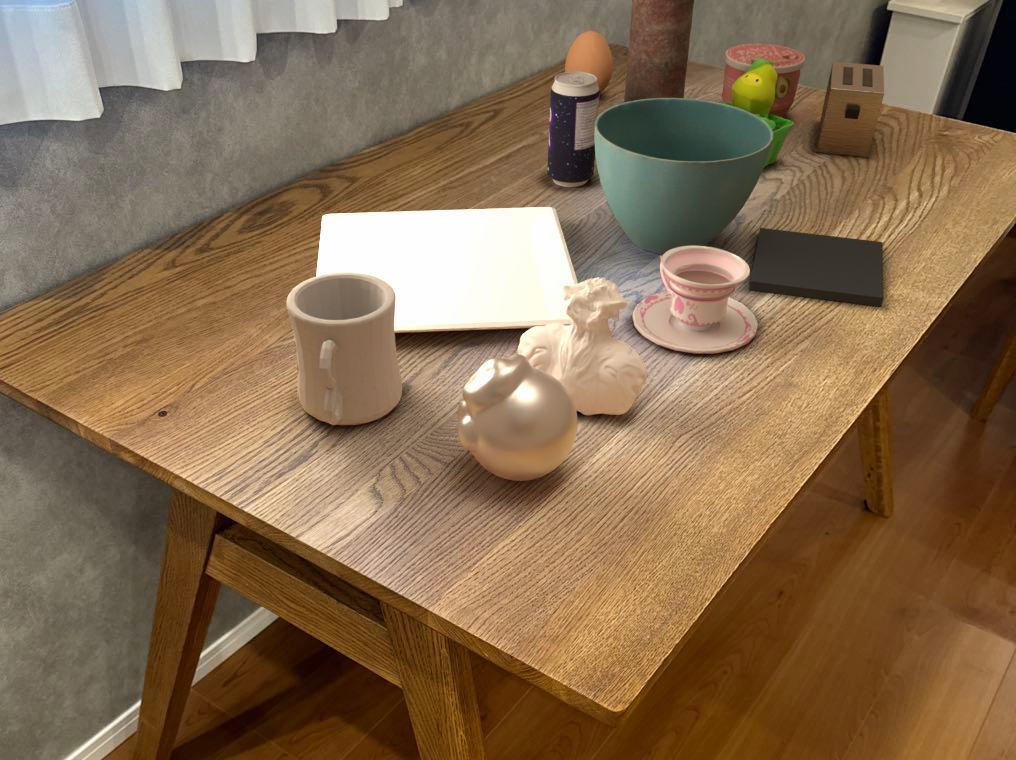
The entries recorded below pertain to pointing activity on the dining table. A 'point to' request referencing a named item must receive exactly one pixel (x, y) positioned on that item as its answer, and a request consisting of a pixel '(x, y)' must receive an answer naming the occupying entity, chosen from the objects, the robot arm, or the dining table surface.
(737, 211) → the plant pot
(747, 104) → the fruit basket
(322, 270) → the plate
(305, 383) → the mug
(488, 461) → the cream glossy round piece
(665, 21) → the candle
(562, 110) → the beverage can
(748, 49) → the container
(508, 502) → the dining table surface
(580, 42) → the egg
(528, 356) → the bust
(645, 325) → the teacup
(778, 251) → the mat
